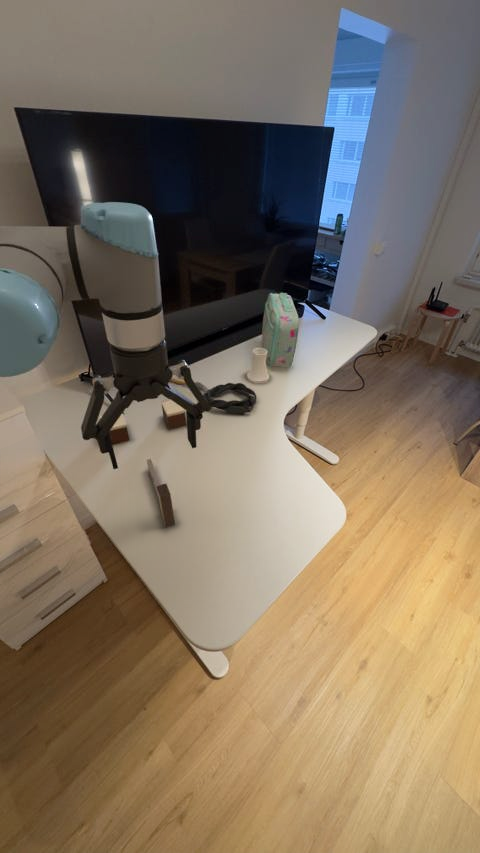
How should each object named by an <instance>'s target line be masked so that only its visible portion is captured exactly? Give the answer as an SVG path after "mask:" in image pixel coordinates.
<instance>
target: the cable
mask: <svg viewBox="0 0 480 853" xmlns="http://www.w3.org/2000/svg"><path fill="white" fill-rule="evenodd" d="M228 391H233V392H234V393H236V394H238V395H240V396H244V397H247V398H246V399H242V400H236V399H234V400H232V399H231V400H228V401H227V400H225V399H213V398H216V397H219V396H221V395H222V394H223V393H225V392H228ZM202 394H203V396H204V397H205V399H206V400H207V402H208V403H209V405H210V406H211V408H214V409H217V410H221V411H225V412H226V413H229V414H230V413H231V414H240V415H241V414H246V413H251V411H253V409H254V407H255V405H256V402H257V395H256V394H257V393H255V391H254V390H253V389H252V388H249V387H247V386H246V385H245V384H244V383H242V382H237V383H233V382H226V383H225V384H218V385H215V386H213V387H212V388H209V389H208V390H206V392H204V393H202Z"/></svg>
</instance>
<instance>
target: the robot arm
mask: <svg viewBox="0 0 480 853" xmlns="http://www.w3.org/2000/svg"><path fill="white" fill-rule="evenodd" d="M80 217H81V218H80V224H75V225H72V226H71V225H70V226H69V225H68V226H33V225H32V226H29V225H28V226H22V225H21V226H20V225H19V226H17V225H15V226H14V225H1V224H0V378H11V377H17V376H20V375H24V374H26V373H28V372H31V371H32V370H34V369H36V368H37V367H38V366H40V365H41V364H42V363H43V361H44V360H45V359H46V357H47V356H48V354H49V353H50V350H51V348H52V346H53V344H54V341H56V339H57V336H58V331H59V328H60V327H61V326H60V324H61V317H60V315H61V312H62V307H63V303H64V302H69V301H70V302H72V301H87V300H89V301H90V300H93V299H95V300H96V299H97V300H98V301H99V306H100V310H101V316H102V321H103V324H104V330H105V335H106V339H107V341H108V343H109V345H108V350H109V353H110V358H111V362H112V368H113V375H112V376H109V377H102V376H101V375H99V374H94V375H92V377H91V381H92V391H91V394H90V397H89V401H88V403H87V407H86V411H85V413H84V415H83V416H84V417H83V420H82V423H81V426H80V429H81V436H82V439H83V441H89V440H91V439H95V440H96V441H97V444H98V448H99V450H100V453H101V454H102V455H104V454H108V455H109V458H110V461H111V465H112V469H113V470H117V469H119V466H118V462H117V457H116V454H115V450H114V446H113V445H112V442H111V438H110V434H109V431H110V430H111V428H112V427H113V426H114V424H115V423H116V421H117V420H118V419H119V417H120V416H121V414H122V413H124V412H125V410H126V409H129V407H130V406H131V405H132V404H133V402H137V403H140V402H145V401H147V400H155V399H158V398H159V397H160V396H163V397H164V398H166V399H168V400H172V401H174V402H175V403H176V404H178V405H179V406H181V407H182V408H183V409H185V416H186V433H187V435H186V436H187V441H188V442H189V445H190V447H191V448H192V449H195V448H197V431H199V430H201V427H202V424H201V423H202V421H201V420H202V419H203V417H204V415H203V413H208V412H210V411H211V410H212V407H211V406H210V405H209V403H208V402H207V400H206V399H205V397H204V396H203V394H204V393H202V391H201V389H200V388H199V387H197V385H196V384H195V382H196V381H194V379H193V377H192V372H191V368H190V367H189V365H188V363H187V361H185V360H184V359H180V360H179V361H178V362H177V364H174V365H169V359H168V349H167V348H168V346H167V341H166V339H165V338H166V329H165V318H164V310H163V300H162V299H163V298H162V286H161V275H160V265H159V264H160V263H159V252H158V247H157V241H156V232H155V226H154V220H153V217H152V214H151V213H150V212H149V211H148V209H147V208H145V207H144V206H143V205H139V204H136V203H130V202H119V201H107V202H106V201H105V202H91V203H87V204H85V205H83V206H82V207H81V208H80ZM173 376H176V378H177V379H178V380H181V381H184V382H185V383H186V385H185V386H187V388H188V390H190V393H191V394H192V395H193V396H194V398H195V399H196V401H197V403H196V402H193V400H191V399H190V398H188V397H187V396H186V395H185V394H183V393H182V392H181V391H179V390H178V389H176V388H175V387H174V386H173V385H171V384H170V382H171V381H170V380H171V378H173ZM113 387H114V388H115V389H117V392H116V394H115V396H114V398H113V400H112V401H111V402H110V404H109V405H108V407H107V408H106V410H105V412H104V413H103V414H102V415H101V416H102V417H101V418H100V420H99V416H100V413H101V410H102V407H103V405H104V401H105V395H108V393H109V392H110V390H111V388H113Z"/></svg>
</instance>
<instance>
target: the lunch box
mask: <svg viewBox="0 0 480 853" xmlns="http://www.w3.org/2000/svg"><path fill="white" fill-rule="evenodd" d="M263 312H264V313H263V318H262V323H261V324H260V334H261V346H262V348H264V349H266V350H267V356H266V365H267V366H269V367H273V366H274V367H282V368H283V367H284V368H291V367H292V366H293V363H294V359H295V354H296V349H297V343H298V337H299V329H300V318H299V315H298V311H297V309H296V307H295V304H294V301H293V299H292V296H291V295H289V294H288V293H287V292H280V293H273V292H270V293H269V294H268V295H267V298H266V302H265V304H264V311H263Z"/></svg>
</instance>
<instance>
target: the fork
mask: <svg viewBox="0 0 480 853" xmlns="http://www.w3.org/2000/svg"><path fill="white" fill-rule="evenodd" d="M169 382H172V383H176V384H181V385H184V386H187V385H186V383H185V382H184V380H182V379H179V378H175V377H172V378H171V380H170V381H169ZM194 382H195V384H196V385H197V387H198V388H199V389H202V390H204V392H207V390H209V389H208V388H207V387H206V386H205V385H204V384H203V383H202V382H199V381H194Z"/></svg>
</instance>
